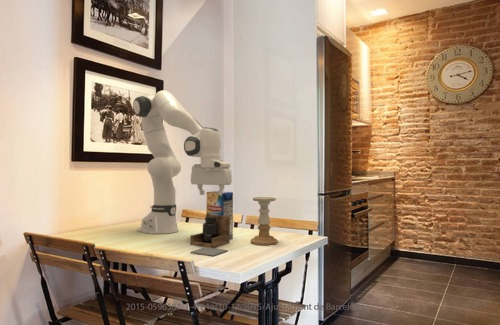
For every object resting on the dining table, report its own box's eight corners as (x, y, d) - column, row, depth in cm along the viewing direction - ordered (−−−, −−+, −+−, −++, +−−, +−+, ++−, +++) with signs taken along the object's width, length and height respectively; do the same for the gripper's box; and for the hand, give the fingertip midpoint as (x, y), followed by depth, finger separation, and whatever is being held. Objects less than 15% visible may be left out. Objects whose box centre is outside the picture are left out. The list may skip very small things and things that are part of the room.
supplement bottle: (204, 246, 155) (205, 218, 155) (200, 243, 162) (200, 216, 162) (220, 244, 158) (220, 217, 158) (215, 242, 164) (215, 215, 164)
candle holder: (283, 242, 163) (283, 198, 164) (264, 246, 155) (264, 199, 155) (263, 238, 172) (263, 196, 172) (244, 242, 163) (245, 197, 164)
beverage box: (223, 240, 167) (223, 193, 167) (206, 237, 174) (206, 192, 174) (232, 238, 172) (233, 192, 173) (215, 235, 179) (216, 191, 179)
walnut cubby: (190, 245, 157) (190, 217, 158) (207, 240, 168) (207, 214, 168) (213, 248, 151) (213, 219, 151) (229, 243, 162) (229, 216, 162)
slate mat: (190, 253, 142) (190, 251, 142) (205, 248, 151) (205, 246, 151) (213, 256, 137) (213, 255, 137) (227, 251, 146) (227, 250, 146)
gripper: (187, 164, 163) (187, 194, 162) (225, 163, 152) (225, 196, 152) (196, 164, 168) (196, 194, 168) (233, 163, 158) (233, 195, 158)
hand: (210, 195), depth 160 cm, fingers open, 8 cm apart
